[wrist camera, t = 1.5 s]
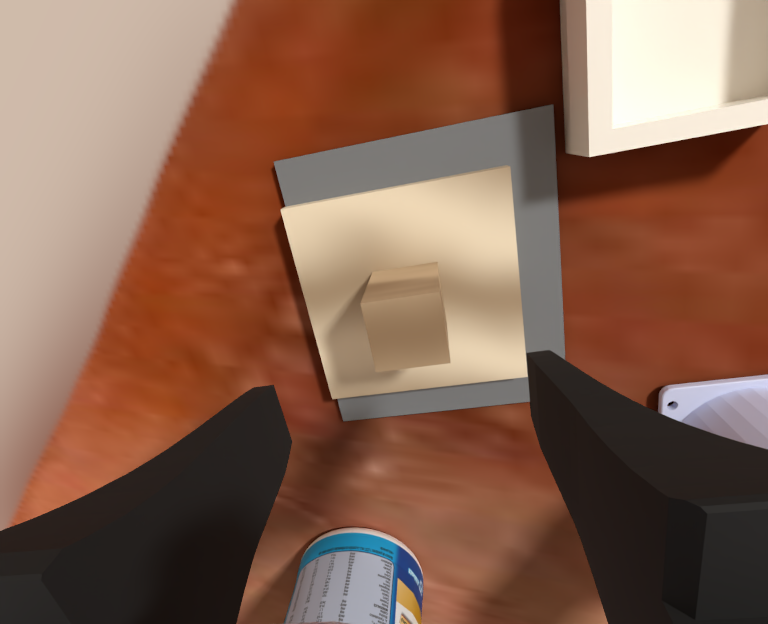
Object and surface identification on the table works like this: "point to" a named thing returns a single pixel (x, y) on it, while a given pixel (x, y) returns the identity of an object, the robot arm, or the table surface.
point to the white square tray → (661, 71)
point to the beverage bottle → (357, 580)
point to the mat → (446, 158)
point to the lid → (413, 283)
